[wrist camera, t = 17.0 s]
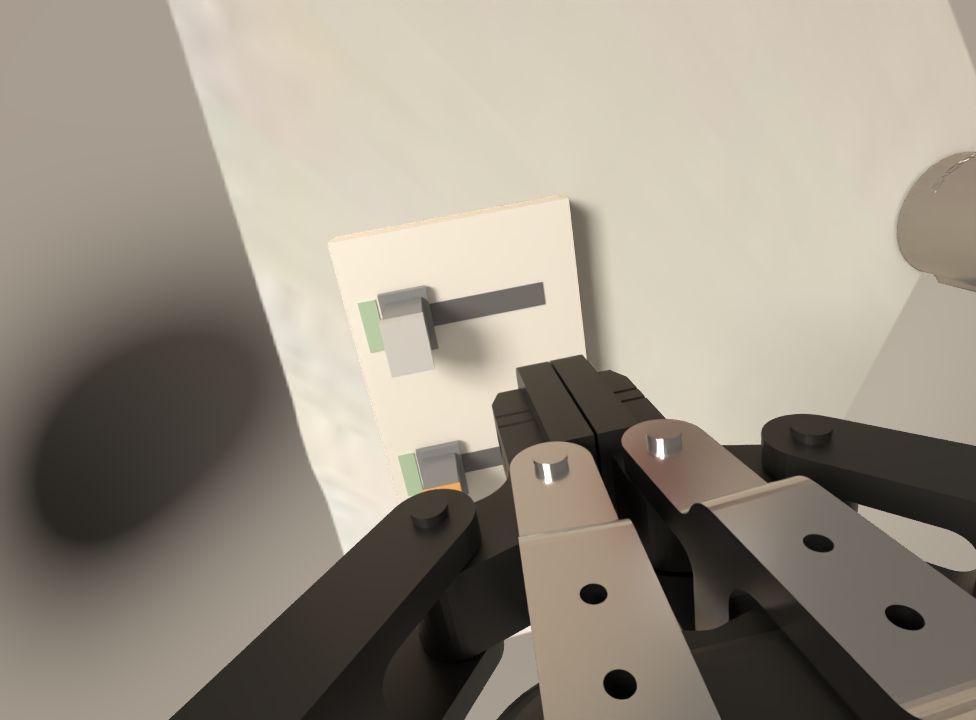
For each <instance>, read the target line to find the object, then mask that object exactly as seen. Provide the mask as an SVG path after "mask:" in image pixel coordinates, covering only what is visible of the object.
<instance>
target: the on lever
mask: <svg viewBox="0 0 976 720" xmlns="http://www.w3.org/2000/svg"><path fill="white" fill-rule="evenodd" d="M377 297H378V301H379V305H380V309H381V313H382V320H380V321H379V328H380V332H381V336H382V340H383V344H384V348H385V352H386V356H387V360H388V364H389V368H390V372H391V376H392V378H394V377H399V376H404V375H409V374H414V373H419V372H424V371H429V370H434V369H435V365H434V360H433V355H432V350H435V349H439V348H438V342H437V338H436V333H435V328H434V324H433V319H432V314H431V310H430V305H429V301H428V296H427V291H426V287H425V285H422V286H417V287H412V288H407V289H402V290H397V291H392V292H386V293H381V294H378V295H377Z"/></svg>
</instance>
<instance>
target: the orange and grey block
mask: <svg viewBox="0 0 976 720" xmlns="http://www.w3.org/2000/svg"><path fill="white" fill-rule="evenodd" d="M416 457H417V461H418V465H419V469H420V473H421V477H422V481H423V490H421V492H425V491H428V490H434V489H454V490H458V491H461V492H463V493H465V494H469V489H468V485H467V480H466V476H465V471H464V466H463V462H462V457H461V452H460V448H459V443H458V440H457V441H452V442H448V443H443V444H438V445H433V446H429V447H424V448H419V449H416Z"/></svg>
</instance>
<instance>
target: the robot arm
mask: <svg viewBox="0 0 976 720" xmlns="http://www.w3.org/2000/svg"><path fill="white" fill-rule="evenodd" d="M897 239H898V243H899V247H900V250H901V252H902V254H903V256H904V258H905V259H906V260H907V261H908V262H909V264H910V265H911V266H913V267H915V268H916V269H918V270H920V271H923V272H927V273H931V274H934V276H935V277H936V278H937V280H938V282H939V283H942V284H946V285H950V286H954V287H958V288H962V289H966V290H970V291H974V292H976V152H964V153H959V154H955V155H952V156H950V157H947V158H945V159H943V160H941V161H940V162H938V163H937V164H935V165H934V166H932V167H931V168H930V169H929V170H927V171H926V172H925V173H924V174H923V175H922V176H921V177H920V178H919V179H918V181H917V182H916V183H915V184H914V186H913V187H912V188H911V190H910V192H909V194H908V195H907V197H906V199H905V201H904V203H903V206H902V209H901V211H900V215H899V220H898V225H897ZM516 377H517V384H518V389H515V390H510V391H506V392H501V393H498V394H497V396H496V398H495V399H494V401H493V403H492V410H493V416H494V421H495V426H496V432H497V437H498V443H499V448H500V453H501V459H502V464H503V468H504V471H505V475H506V478H507V480H506V481H505V483H504V484H503V485H502V486H501V487H500V488H499V489H498V490H496V491H495V492H494V493H492V494H491V495H489V496H487V497H485V498H483V499H481V500H479V501H476V502H474V501H473V500H472V499H471V497H470V496H468V495H467V494H465V493H463V492H461V491H458V490H454V489H434V490H428V491H425V492H421V493H419V494H416V495H414V496H412V497H410V498H408V499H406V500H405V501H403V502H401V503H400V504H399V505H398V506H397V507H395V508H394V509H393V510H392V511H391V512H390V513H389V514H388V515H387V516H386V517H385V518H384V519H383V520H382V521H380V522H379V523H378V524H377V525H376V526H375V527H374V528H373V529H372V530H371V531H370V532H369V533H368V534H367V535H366V536H364V537H363V538H362V539H361V540H360V541H359V542H358V543H357V544H356V545H355V546H354V547H353V548H352V549H351V550H350V551H348V552H347V553H346V554H345V555H344V556H343V557H342V558H341V559H340V560H339V561H338V562H337V563H336V564H335V565H334V566H333V567H331V568H330V569H329V570H328V571H327V572H326V573H325V574H324V575H323V576H322V577H321V578H320V579H319V580H318V581H317V582H315V583H314V584H313V585H312V586H311V587H310V588H309V589H308V590H307V591H306V592H305V593H304V594H303V595H301V597H299V598H298V599H297V600H296V601H295V602H294V603H293V604H292V605H291V606H290V607H289V608H288V609H287V610H285V611H284V612H283V613H282V614H281V615H280V616H279V617H278V618H277V619H276V620H275V621H274V622H273V623H272V624H270V625H269V626H268V627H267V628H266V629H265V630H264V631H263V632H262V633H261V634H260V635H259V636H258V637H257V638H256V639H254V640H253V641H252V642H251V643H250V644H249V645H248V646H247V647H246V648H245V649H244V650H243V651H242V652H241V653H240V654H238V655H237V656H236V657H235V658H234V659H233V660H232V661H231V662H230V663H229V664H228V665H227V666H226V667H225V668H224V669H222V670H221V671H220V672H219V673H218V674H217V675H216V676H215V677H214V678H213V679H212V680H211V681H210V682H209V683H208V684H206V685H205V686H204V687H203V688H202V689H201V690H200V691H199V692H198V693H197V694H196V695H195V696H194V697H193V698H191V699H190V700H189V701H188V702H187V703H186V704H185V705H184V706H183V707H182V708H181V709H180V710H179V711H178V712H177V713H175V715H173V716H172V717H171V718H170V719H169V720H464V719H465V717H466V715H467V714H468V712H469V711H470V709H471V707H472V706H473V704H474V703H475V701H476V699H477V698H478V696H479V695H480V693H481V691H482V690H483V687H484V686H485V685H486V683H487V681H488V680H489V678H490V677H491V675H492V673H493V672H494V670H495V668H496V667H497V665H498V663H499V662H500V660H501V658H502V654H503V651H504V640H505V639H507V638H509V637H510V636H512V635H514V634H516V633H518V632H519V631H521V630H523V629H525V628H526V627H528V626H530V625H531V630H532V636H533V643H534V651H535V658H536V665H537V672H538V679H539V683H538V684H536V685H535V686H533V687H532V688H530V689H529V690H527V691H526V692H525V693H523V694H522V695H521V696H520V697H518V698H517V699H516V700H515V701H514V702H513V703H512V704H511V705H509V706H508V708H507V709H506V710H505V711H504V712H503V713H502V714H501V715H500V716H499V718H498V719H497V720H976V569H975V570H972V571H968V572H959V571H953V570H949V569H946V568H943V567H940V566H937V565H934V564H931V563H928V562H925V561H923V560H922V559H920V558H919V557H918V556H916V555H915V554H913V553H912V552H911V551H909V550H908V549H907V548H905V547H904V546H902V545H901V544H899V543H898V542H897V541H896V540H894V539H893V538H891V537H890V536H889V535H887V534H886V533H885V532H883V531H882V530H880V529H879V528H878V527H876V526H875V525H874V524H872V523H871V522H869V521H868V520H867V519H865V518H864V517H862V516H861V515H860V514H858V513H857V512H858V504H860V505H864V506H867V507H871V508H874V509H878V510H881V511H885V512H888V513H892V514H896V515H899V516H902V517H906V518H909V519H913V520H916V521H920V522H923V523H927V524H930V525H934V526H937V527H941V528H944V529H948V530H950V531H953V532H955V533H957V534H959V535H961V536H962V537H964V538H965V539H967V540H968V541H969V542H970V543H971V544H972V545H973V546H974V548H975V549H976V446H973V445H968V444H963V443H958V442H953V441H948V440H943V439H937V438H933V437H927V436H922V435H917V434H912V433H907V432H902V431H897V430H892V429H887V428H882V427H877V426H872V425H867V424H862V423H856V422H851V421H846V420H842V419H837V418H831V417H826V416H821V415H812V414H793V415H786V416H781V417H778V418H775V419H772V420H771V421H769V422H767V423H766V424H765V425H764V426H763V428H762V432H761V445H720V444H719V443H718V442H717V441H715V440H714V439H713V438H712V437H711V436H709V435H708V434H707V433H706V432H704V431H703V430H702V429H701V428H699V427H698V426H696V425H693V424H691V423H688V422H685V421H680V420H673V419H666V418H665V417H664V416H663V415H662V414H661V413H660V412H659V411H658V410H657V409H656V408H655V407H654V405H653V404H652V403H651V402H650V401H649V400H648V399H647V398H645V397H644V395H643V394H642V393H641V392H640V390H639V389H637V387H636V386H635V385H634V384H633V383H632V382H631V381H630V380H629V379H628V378H627V377H626V376H623V375H621V374H618V373H616V372H613V371H611V370H607V371H602V372H598V373H597V372H596V371H595V369H594V368H593V367H592V366H591V364H590V363H589V362H588V361H587V359H586V358H585V357H584V356H583V355H582V354H581V355H576V356H571V357H566V358H561V359H556V360H551V361H550V362H548V361H547V362H542V363H537V364H532V365H527V366H522V367H517V368H516Z"/></svg>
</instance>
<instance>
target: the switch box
mask: <svg viewBox="0 0 976 720" xmlns="http://www.w3.org/2000/svg"><path fill="white" fill-rule="evenodd" d="M327 245H328V248H329V252H330V256H331V259H332V263H333V266H334V270H335V274H336V277H337V281H338V285H339V288H340V292H341V296H342V299H343V303H344V307H345V310H346V314H347V318H348V321H349V325H350V329H351V332H352V336H353V340H354V343H355V347H356V351H357V354H358V358H359V362H360V365H361V369H362V372H363V376H364V380H365V383H366V387H367V391H368V394H369V398H370V402H371V405H372V409H373V413H374V416H375V420H376V424H377V427H378V431H379V435H380V438H381V442H382V446H383V449H384V453H385V457H386V460H387V464H388V467H389V471H390V475H391V478H392V482H393V486H394V489H395V493H396V497H397V500H398V504H400V503H401V502H403V501H405V500H406V499H408V498H410V497H412V496H414V495H416V494H419V493H421V490H423V481H422V477H421V473H420V469H419V465H418V461H417V457H416V449H419V448H424V447H429V446H433V445H438V444H443V443H448V442H452V441H457V440H458V443H459V448H460V452H461V457H462V462H463V466H464V471H465V476H466V480H467V485H468V489H469V494H467V495H468V496H470V497H471V499H472V500H473V501H474V502H476V501H479V500H481V499H483V498H485V497H487V496H489V495H491V494H492V493H494V492H495V491H496V490H498V489H499V488H500V487H501V486H502V485H503V484H504V483H505V481H506V480H507V478H506V475H505V471H504V468H503V464H502V459H501V453H500V448H499V443H498V437H497V432H496V426H495V421H494V416H493V410H492V403H493V401H494V399H495V398H496V396H497V394H498V393H501V392H506V391H510V390H515V389H518V384H517V377H516V368H517V367H522V366H527V365H532V364H537V363H542V362H547V361H548V362H550V361H551V360H556V359H561V358H566V357H571V356H576V355H581V354H582V355H583V356H584V357H585V358H586V359H587V357H586V348H585V339H584V330H583V321H582V312H581V304H580V295H579V286H578V277H577V268H576V259H575V250H574V241H573V232H572V223H571V214H570V205H569V198H567V197H564V196H560V195H554V196H549V197H544V198H538V199H533V200H528V201H523V202H517V203H512V204H507V205H501V206H496V207H491V208H485V209H480V210H475V211H469V212H464V213H459V214H453V215H448V216H443V217H438V218H432V219H427V220H422V221H416V222H411V223H406V224H400V225H395V226H390V227H384V228H379V229H374V230H369V231H363V232H358V233H353V234H347V235H342V236H337V237H333V238H332V239H331V240H330V241H329V242H328V243H327ZM422 285H425V287H426V291H427V296H428V301H429V305H430V310H431V314H432V319H433V324H434V328H435V333H436V338H437V342H438V348H439V349H435V350H432V355H433V360H434V365H435V369H434V370H429V371H424V372H419V373H414V374H409V375H404V376H399V377H394V378H392V376H391V372H390V368H389V364H388V360H387V356H386V352H385V348H384V344H383V340H382V336H381V332H380V328H379V321H380V320H382V313H381V309H380V305H379V301H378V297H377V295H378V294H381V293H386V292H392V291H397V290H402V289H407V288H412V287H417V286H422Z"/></svg>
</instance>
